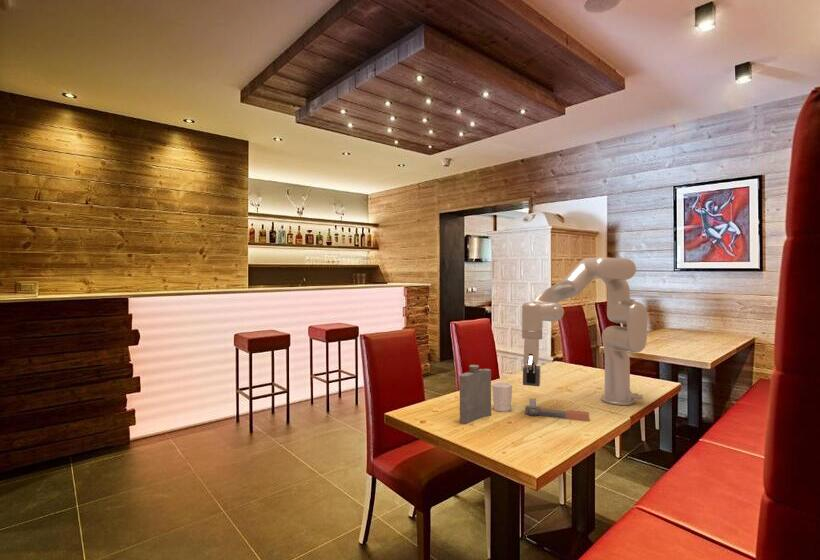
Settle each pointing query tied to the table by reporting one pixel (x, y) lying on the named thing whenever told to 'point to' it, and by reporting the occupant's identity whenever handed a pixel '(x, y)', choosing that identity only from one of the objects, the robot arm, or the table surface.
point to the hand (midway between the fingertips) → (531, 380)
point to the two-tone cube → (537, 379)
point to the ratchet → (555, 412)
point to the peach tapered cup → (502, 396)
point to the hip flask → (475, 394)
